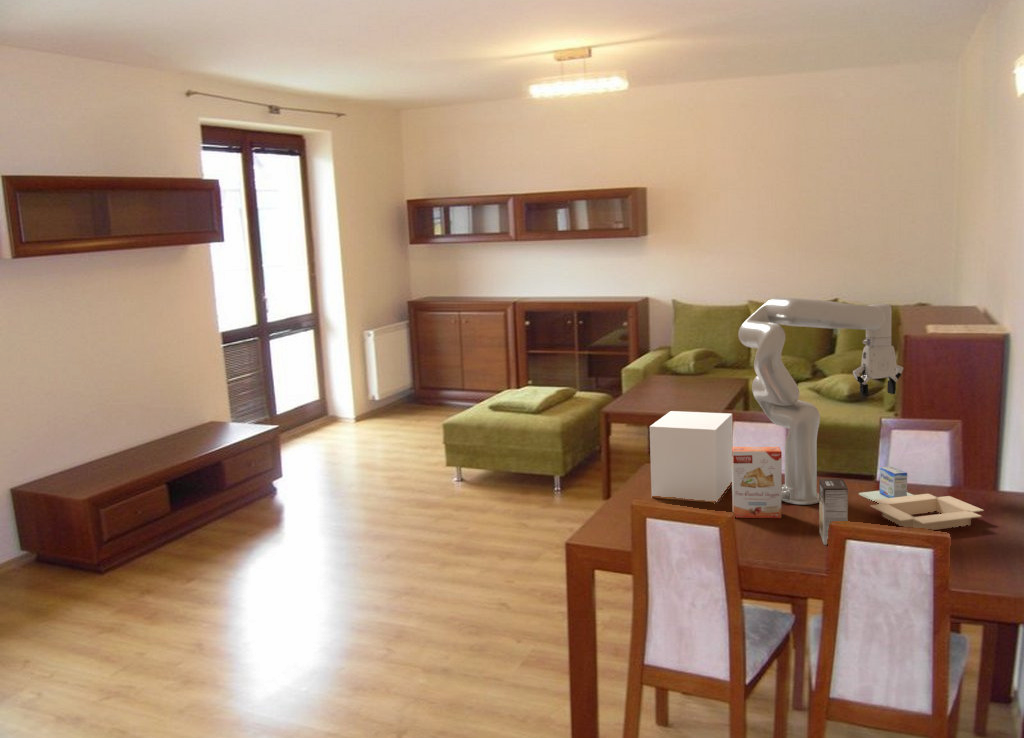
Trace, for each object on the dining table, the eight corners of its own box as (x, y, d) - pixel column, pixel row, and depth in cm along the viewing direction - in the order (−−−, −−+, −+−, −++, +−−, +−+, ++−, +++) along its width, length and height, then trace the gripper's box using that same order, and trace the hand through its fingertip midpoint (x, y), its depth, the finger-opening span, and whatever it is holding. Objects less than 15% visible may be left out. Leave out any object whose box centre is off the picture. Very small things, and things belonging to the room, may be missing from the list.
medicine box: (879, 493, 265) (879, 467, 264) (892, 492, 266) (892, 465, 265) (894, 501, 258) (894, 473, 256) (907, 499, 258) (907, 472, 257)
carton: (909, 538, 228) (909, 524, 227) (861, 514, 249) (861, 501, 249) (993, 528, 232) (994, 514, 232) (939, 504, 254) (940, 492, 253)
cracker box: (733, 518, 251) (732, 450, 248) (732, 512, 257) (731, 446, 254) (782, 519, 249) (781, 450, 246) (779, 512, 255) (779, 445, 251)
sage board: (885, 507, 254) (886, 505, 254) (858, 494, 267) (858, 492, 267) (927, 502, 256) (927, 500, 256) (898, 490, 270) (898, 488, 270)
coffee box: (818, 533, 235) (818, 478, 233) (842, 534, 234) (842, 478, 232) (823, 545, 227) (823, 487, 224) (848, 545, 225) (849, 488, 223)
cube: (672, 478, 298) (670, 411, 294) (733, 483, 288) (732, 413, 285) (651, 499, 276) (649, 426, 272) (716, 505, 266) (715, 429, 263)
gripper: (860, 345, 264) (860, 399, 267) (910, 341, 267) (909, 394, 270) (847, 343, 271) (846, 395, 274) (895, 339, 274) (894, 390, 277)
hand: (877, 394), depth 272 cm, fingers open, 9 cm apart
